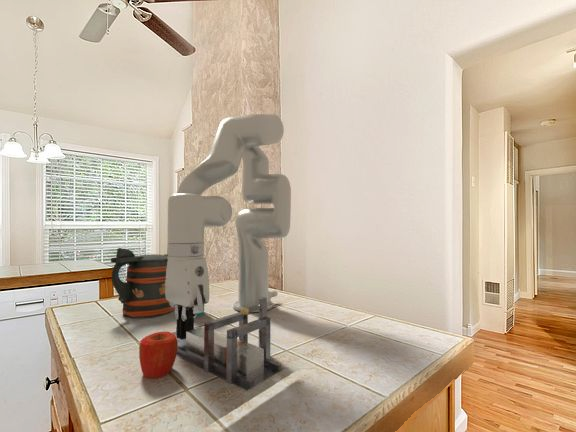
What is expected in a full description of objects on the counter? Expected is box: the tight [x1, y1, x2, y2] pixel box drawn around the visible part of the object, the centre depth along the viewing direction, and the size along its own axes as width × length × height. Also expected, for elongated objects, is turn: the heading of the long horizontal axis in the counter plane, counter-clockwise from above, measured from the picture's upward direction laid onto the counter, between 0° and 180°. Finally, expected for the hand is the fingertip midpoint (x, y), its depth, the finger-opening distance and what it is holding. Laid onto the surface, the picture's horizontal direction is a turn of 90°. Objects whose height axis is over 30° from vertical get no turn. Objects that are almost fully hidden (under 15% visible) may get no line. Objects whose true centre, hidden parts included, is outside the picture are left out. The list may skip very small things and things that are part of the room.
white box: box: [186, 326, 264, 379], centre depth 57 cm, size 18×4×4 cm, turn 50°
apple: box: [138, 331, 177, 380], centre depth 53 cm, size 6×6×8 cm
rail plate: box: [171, 326, 285, 391], centre depth 60 cm, size 9×32×2 cm, turn 52°
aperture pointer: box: [240, 297, 268, 348], centre depth 58 cm, size 6×2×12 cm, turn 142°
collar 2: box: [225, 316, 271, 385], centre depth 53 cm, size 9×1×9 cm, turn 142°
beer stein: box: [110, 247, 175, 318], centre depth 91 cm, size 19×15×20 cm
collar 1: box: [203, 311, 249, 373], centre depth 57 cm, size 9×1×9 cm, turn 142°
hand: (185, 336), depth 65 cm, fingers closed
